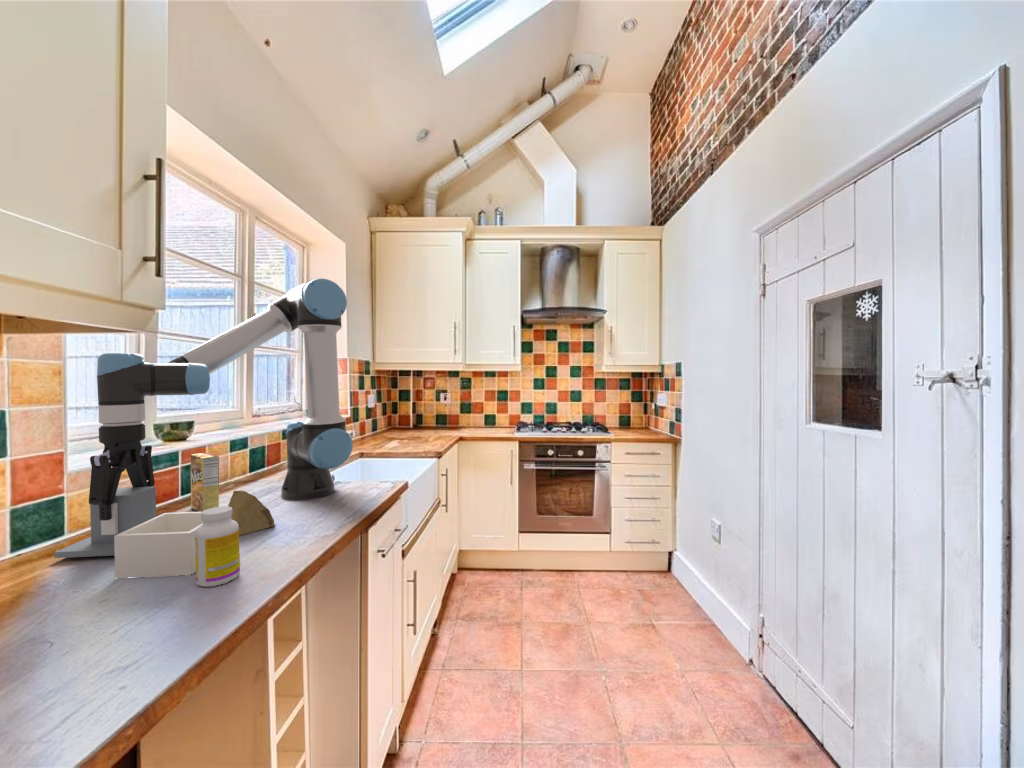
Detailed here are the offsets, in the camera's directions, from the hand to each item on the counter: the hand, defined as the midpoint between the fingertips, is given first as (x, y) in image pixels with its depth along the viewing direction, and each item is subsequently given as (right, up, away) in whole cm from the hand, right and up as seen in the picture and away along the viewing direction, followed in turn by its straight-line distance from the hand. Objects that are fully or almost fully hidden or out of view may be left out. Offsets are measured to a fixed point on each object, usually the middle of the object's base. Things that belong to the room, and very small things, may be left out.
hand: (125, 527), depth 93 cm
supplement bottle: (+31, -5, -16) cm, 35 cm away
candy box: (-1, -4, +25) cm, 25 cm away
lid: (0, -3, 0) cm, 3 cm away
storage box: (+18, -4, -8) cm, 20 cm away
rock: (+22, -4, +8) cm, 24 cm away
